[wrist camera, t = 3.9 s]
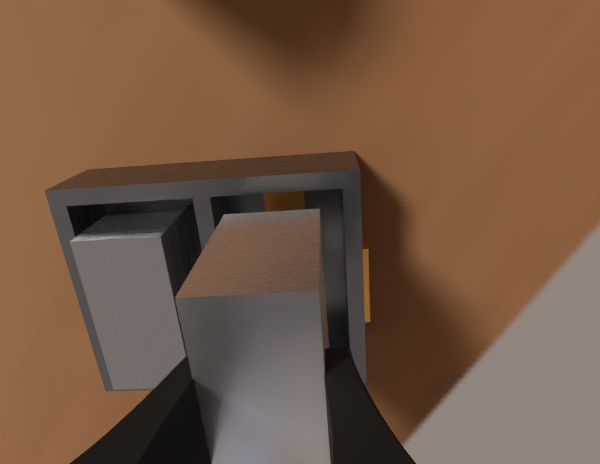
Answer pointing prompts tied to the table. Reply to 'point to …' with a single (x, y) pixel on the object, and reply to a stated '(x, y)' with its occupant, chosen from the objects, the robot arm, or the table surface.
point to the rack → (196, 248)
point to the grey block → (260, 338)
